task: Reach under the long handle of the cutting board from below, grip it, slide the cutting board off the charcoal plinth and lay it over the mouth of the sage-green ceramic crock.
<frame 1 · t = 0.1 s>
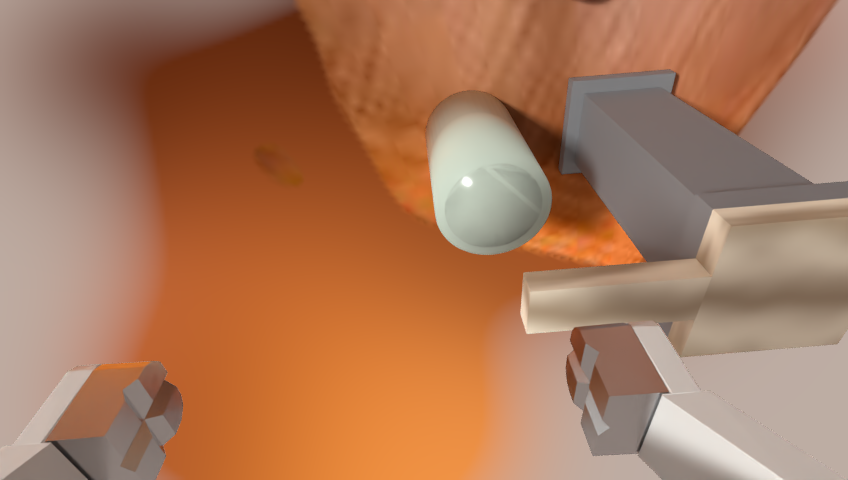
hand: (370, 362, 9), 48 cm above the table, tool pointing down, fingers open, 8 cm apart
plinth: (610, 122, 57), on the table
crock: (468, 134, 57), on the table
cutting board: (687, 280, 33), point 30 cm above the table, touching plinth
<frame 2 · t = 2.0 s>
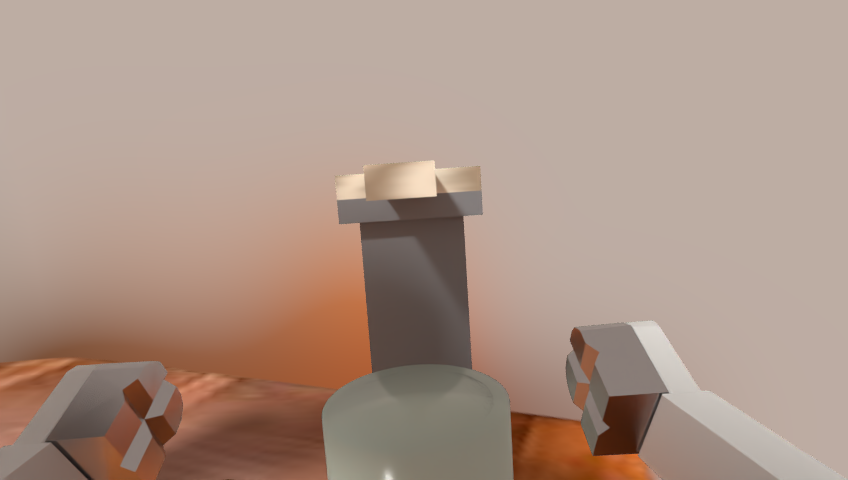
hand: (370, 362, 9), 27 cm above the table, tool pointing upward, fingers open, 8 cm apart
cutting board: (409, 195, 37), point 30 cm above the table, touching plinth
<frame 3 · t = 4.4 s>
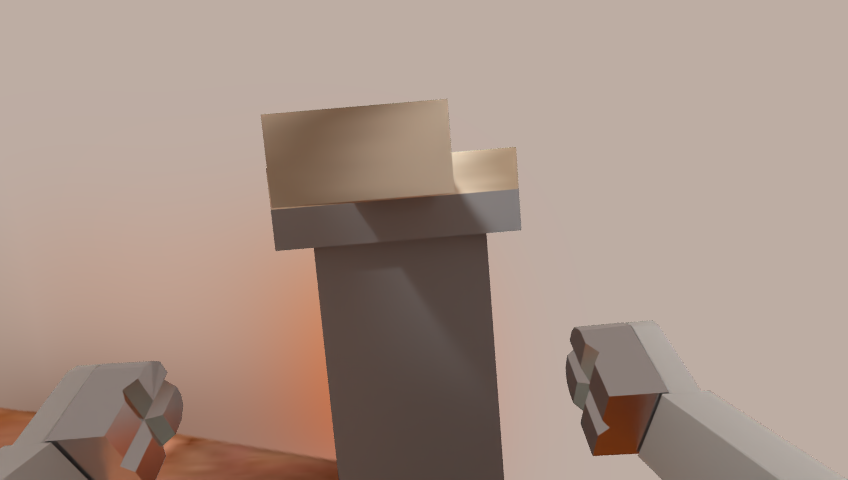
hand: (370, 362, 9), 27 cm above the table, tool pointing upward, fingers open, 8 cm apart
cutting board: (394, 199, 22), point 30 cm above the table, touching plinth
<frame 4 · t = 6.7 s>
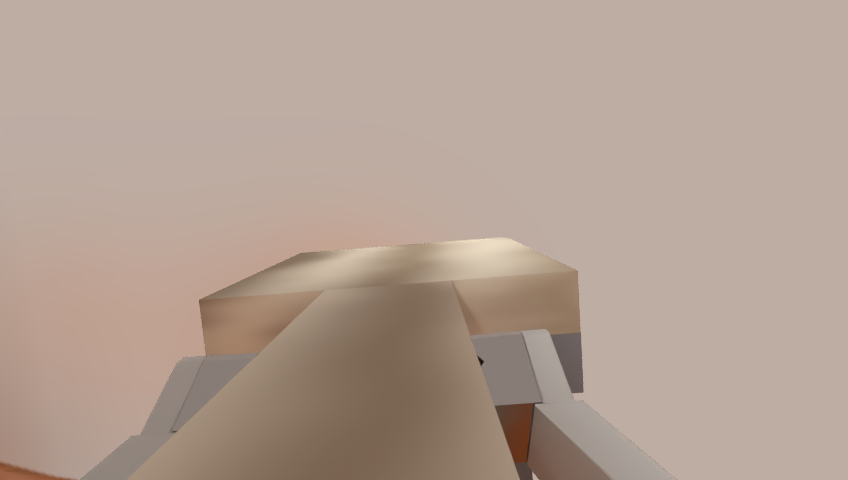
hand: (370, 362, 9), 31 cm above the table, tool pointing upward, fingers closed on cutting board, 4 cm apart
cutting board: (393, 346, 14), point 30 cm above the table, touching gripper, plinth
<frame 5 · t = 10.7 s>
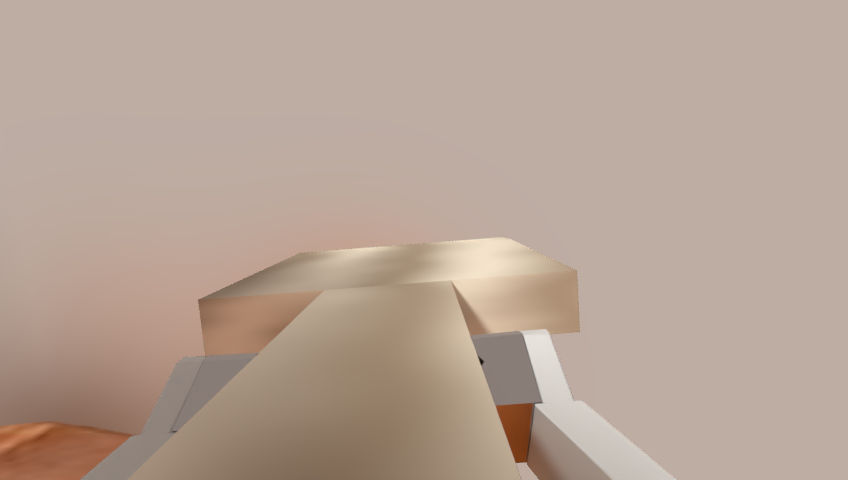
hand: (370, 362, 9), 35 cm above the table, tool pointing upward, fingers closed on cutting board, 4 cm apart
cutting board: (392, 346, 14), point 34 cm above the table, touching gripper
when the fingers open (21 cm above the table, at t = 14.7 s): cutting board drops 1 cm, resting on crock.
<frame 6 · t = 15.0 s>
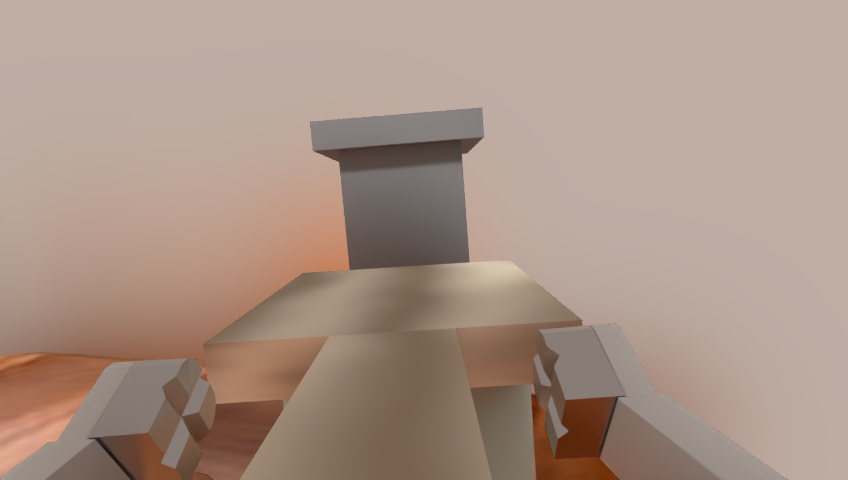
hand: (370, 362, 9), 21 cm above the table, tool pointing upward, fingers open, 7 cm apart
plinth: (428, 470, 40), on the table
cutting board: (396, 392, 14), point 18 cm above the table, touching crock
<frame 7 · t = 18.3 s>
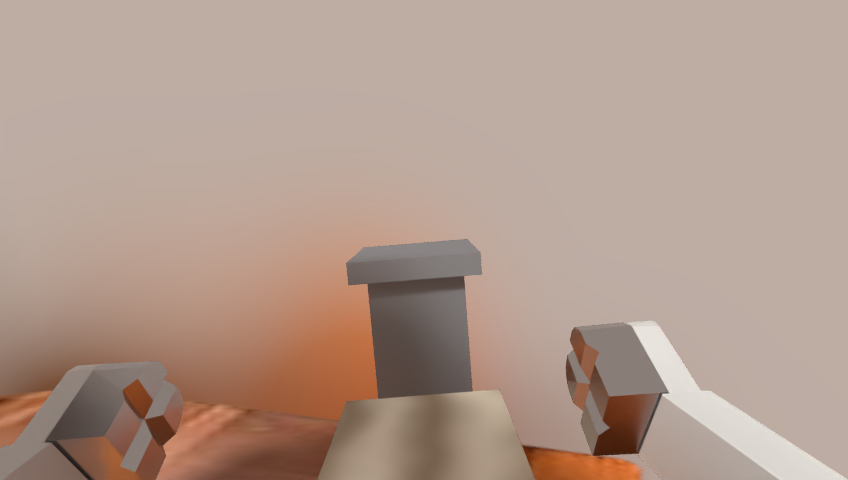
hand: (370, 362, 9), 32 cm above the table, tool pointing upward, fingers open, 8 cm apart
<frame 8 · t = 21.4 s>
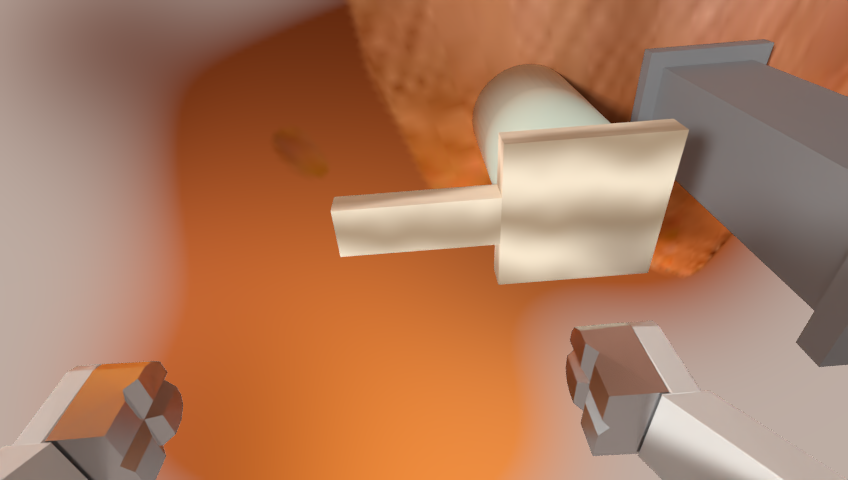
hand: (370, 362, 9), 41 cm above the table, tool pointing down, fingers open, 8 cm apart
plinth: (688, 103, 49), on the table
crock: (522, 116, 49), on the table
cutting board: (496, 207, 34), point 18 cm above the table, touching crock
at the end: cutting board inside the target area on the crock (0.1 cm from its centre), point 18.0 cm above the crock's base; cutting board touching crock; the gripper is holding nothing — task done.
